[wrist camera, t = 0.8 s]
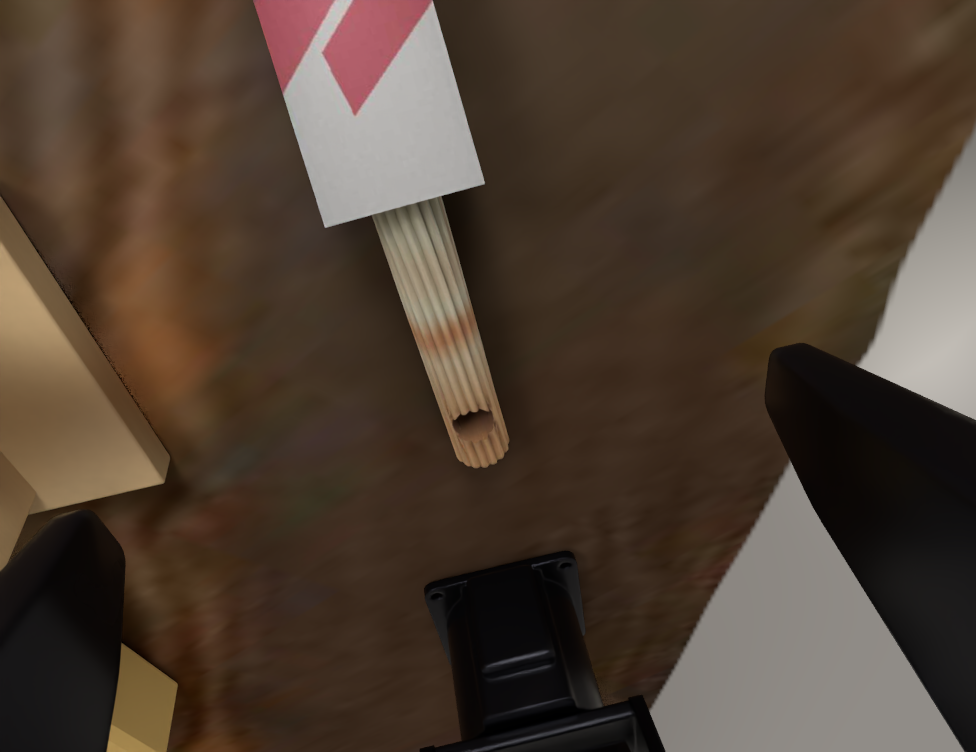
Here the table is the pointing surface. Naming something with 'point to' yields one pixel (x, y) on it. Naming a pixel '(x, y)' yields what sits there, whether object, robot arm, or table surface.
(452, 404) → the paintbrush
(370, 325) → the table surface
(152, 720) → the rubber stamp
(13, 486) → the brush rack
